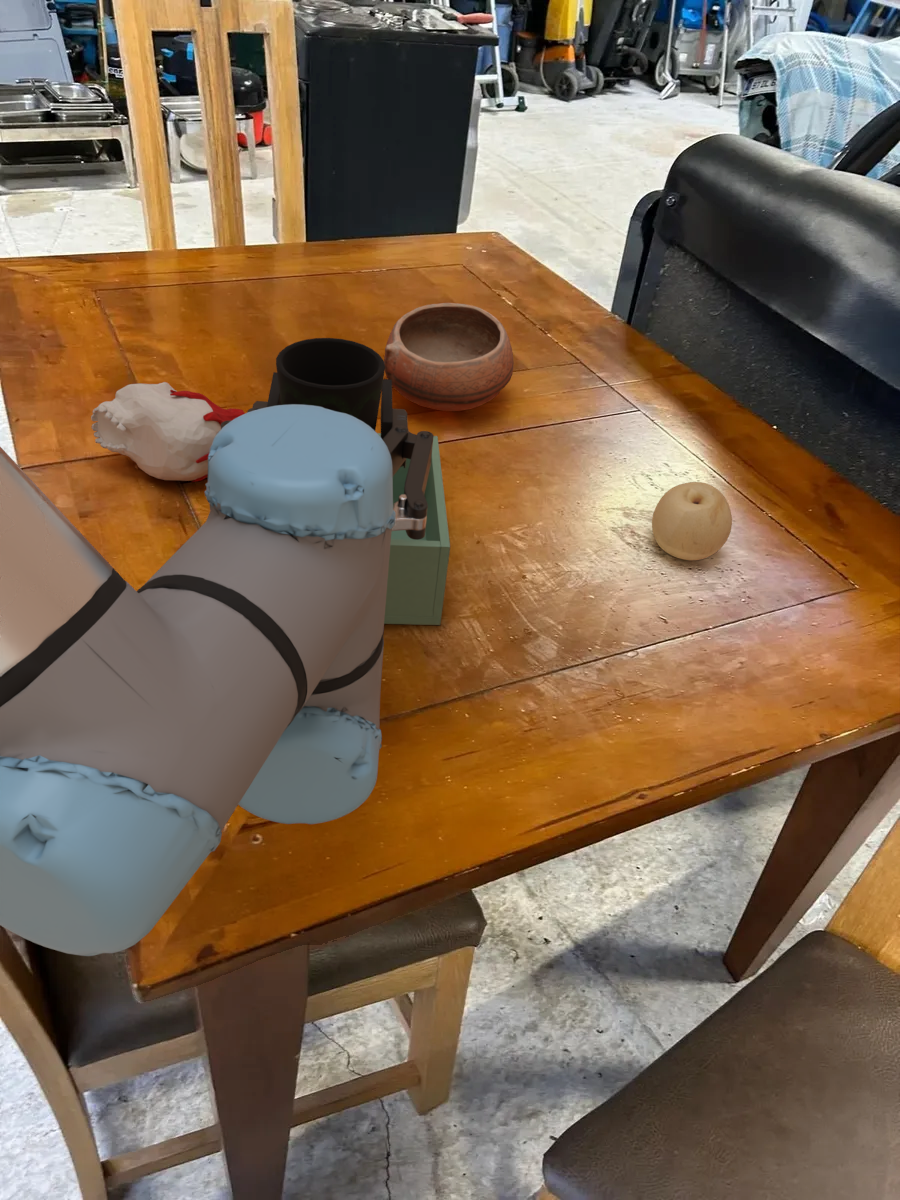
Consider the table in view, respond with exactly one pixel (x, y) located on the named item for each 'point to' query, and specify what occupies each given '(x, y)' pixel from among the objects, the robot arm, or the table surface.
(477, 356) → the bowl
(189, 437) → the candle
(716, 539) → the apple
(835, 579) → the table surface
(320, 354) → the cup
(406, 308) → the table surface
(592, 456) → the table surface
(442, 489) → the open storage box
